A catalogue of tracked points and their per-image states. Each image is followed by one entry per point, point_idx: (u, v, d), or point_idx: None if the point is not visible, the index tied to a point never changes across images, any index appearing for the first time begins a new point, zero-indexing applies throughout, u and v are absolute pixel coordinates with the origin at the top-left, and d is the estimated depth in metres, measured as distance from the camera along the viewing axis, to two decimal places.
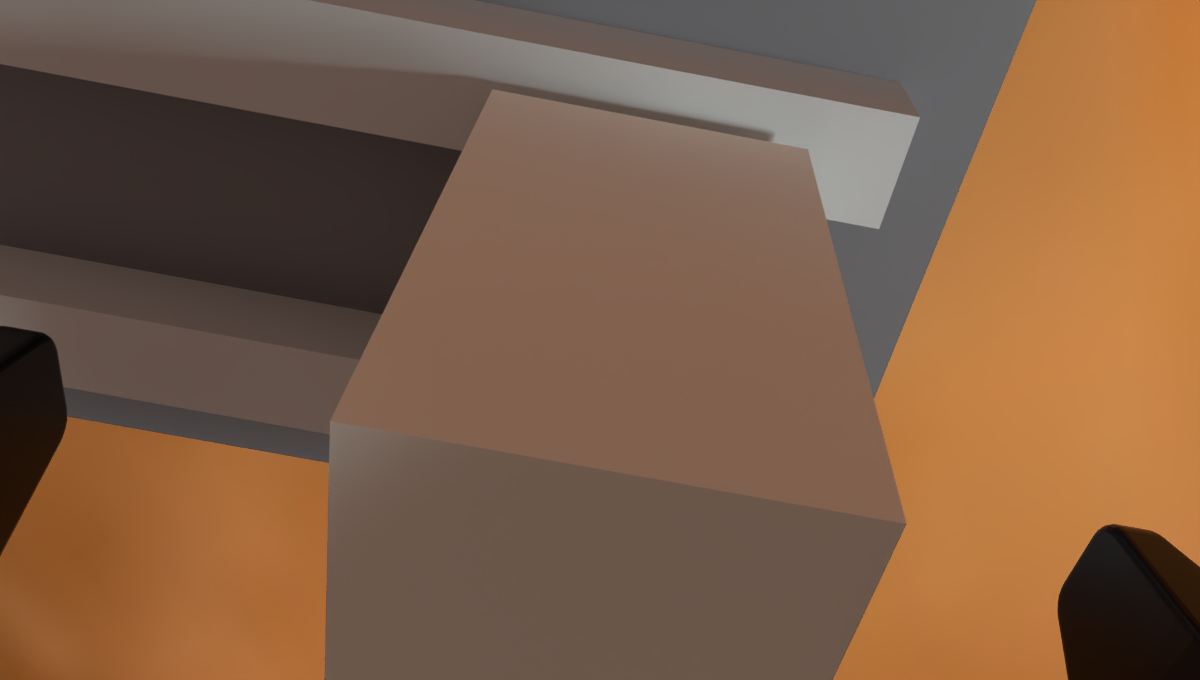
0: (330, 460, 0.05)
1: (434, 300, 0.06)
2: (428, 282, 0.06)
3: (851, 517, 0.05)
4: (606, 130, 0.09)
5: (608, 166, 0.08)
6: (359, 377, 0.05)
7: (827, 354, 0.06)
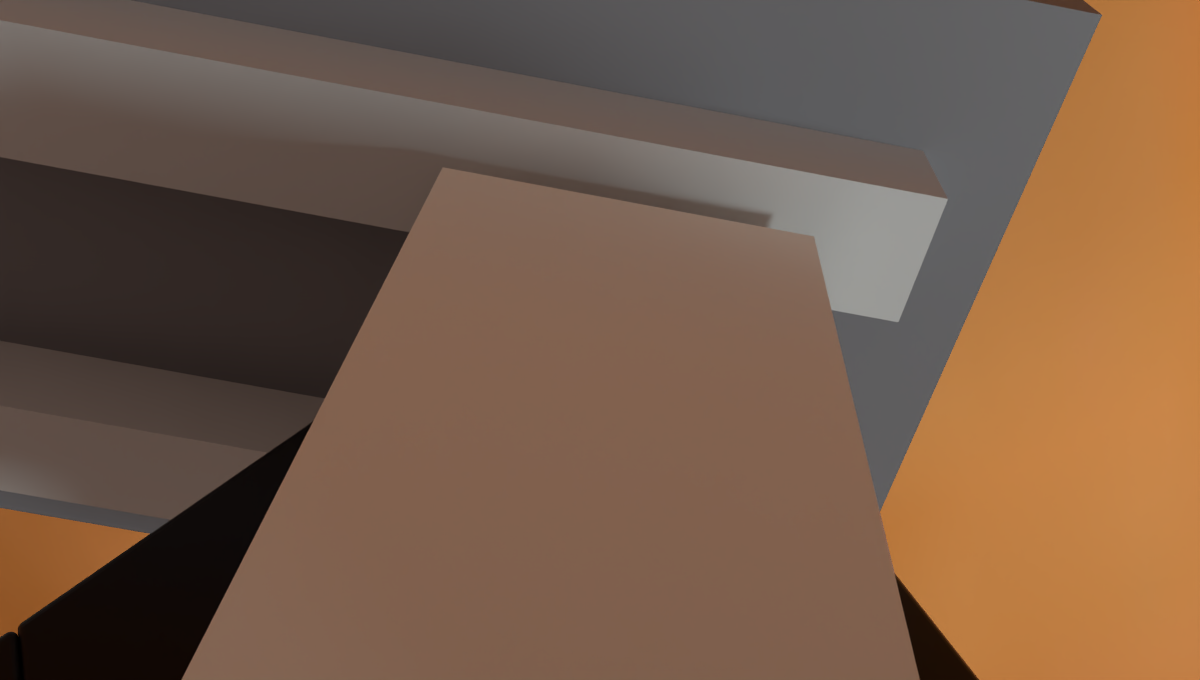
0: None
1: (336, 490, 0.05)
2: (332, 461, 0.05)
3: None
4: (575, 219, 0.07)
5: (576, 270, 0.07)
6: (217, 627, 0.04)
7: (842, 546, 0.05)
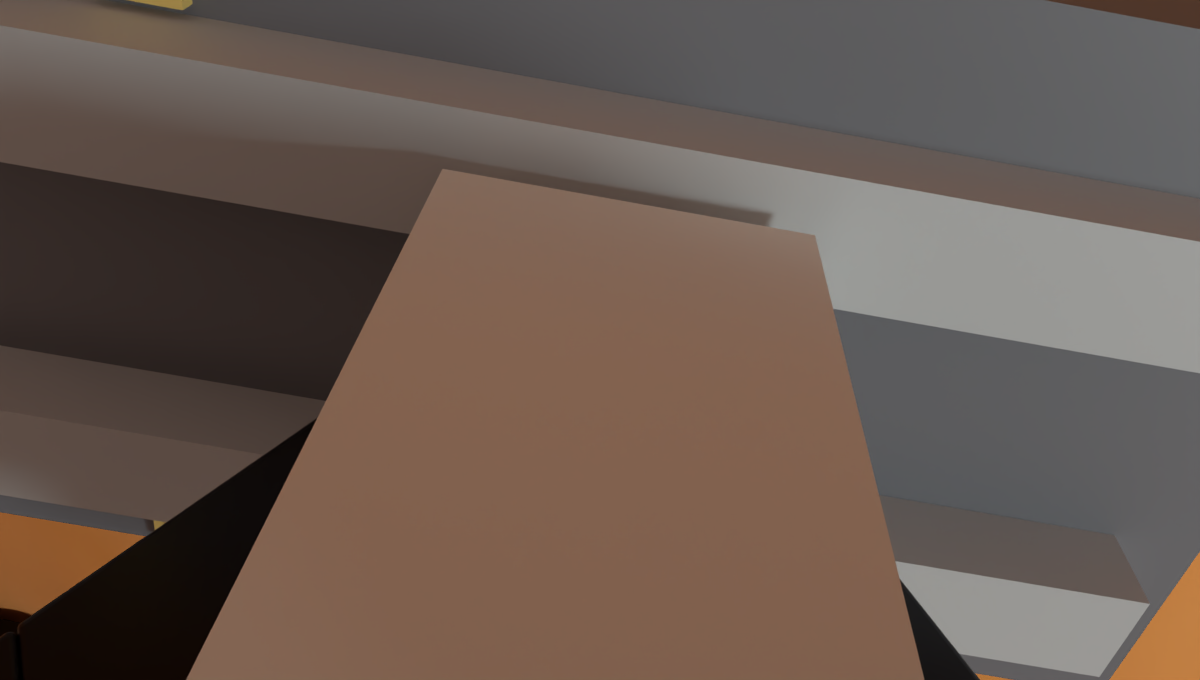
0: None
1: (337, 493, 0.05)
2: (333, 464, 0.05)
3: None
4: (576, 219, 0.07)
5: (576, 271, 0.07)
6: (219, 632, 0.04)
7: (845, 545, 0.05)
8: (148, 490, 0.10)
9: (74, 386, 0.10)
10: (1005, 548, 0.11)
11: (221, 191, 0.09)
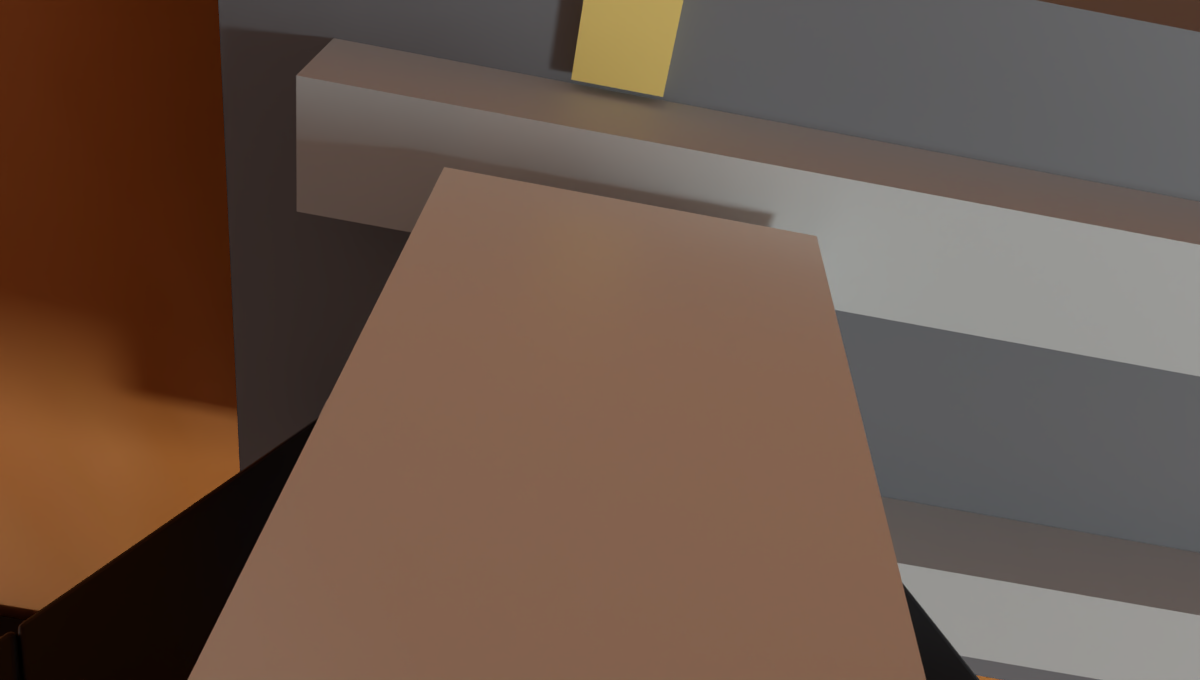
0: None
1: (339, 493, 0.05)
2: (334, 463, 0.05)
3: None
4: (577, 219, 0.07)
5: (578, 270, 0.07)
6: (219, 634, 0.04)
7: (849, 549, 0.05)
8: None
9: None
10: None
11: None
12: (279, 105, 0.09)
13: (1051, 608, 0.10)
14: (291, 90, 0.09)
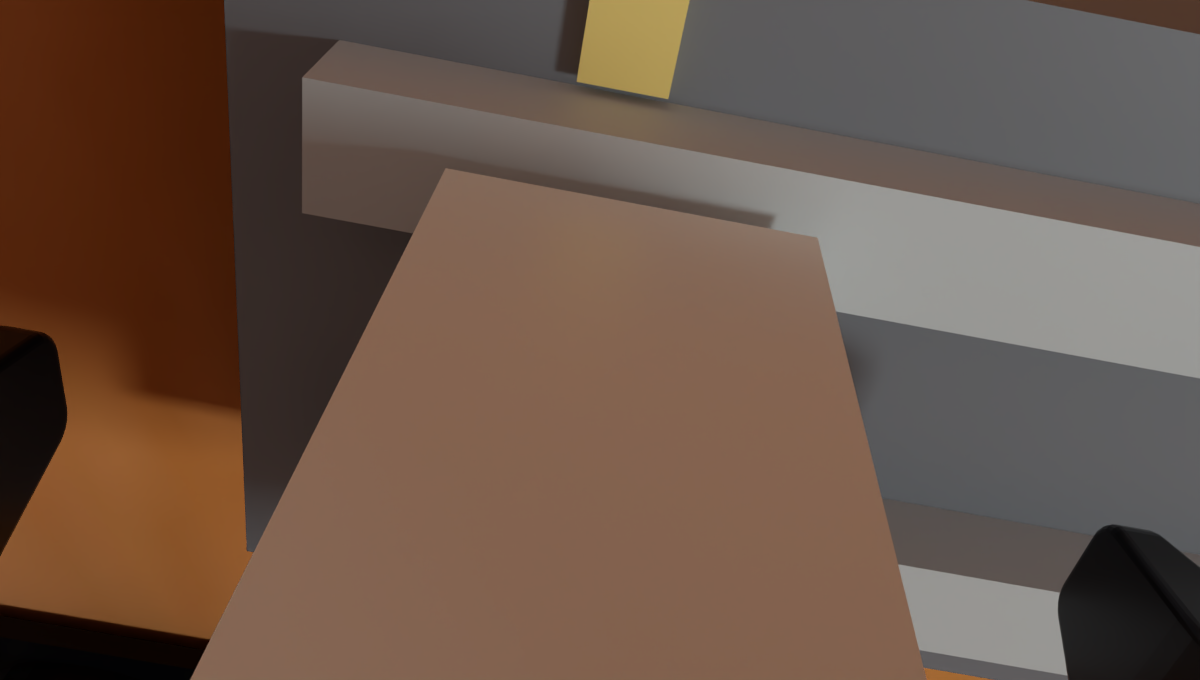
0: None
1: (341, 494, 0.05)
2: (337, 464, 0.05)
3: None
4: (579, 220, 0.07)
5: (579, 271, 0.07)
6: (223, 633, 0.04)
7: (849, 549, 0.05)
8: None
9: None
10: None
11: None
12: (284, 107, 0.09)
13: (1055, 611, 0.10)
14: (296, 92, 0.09)
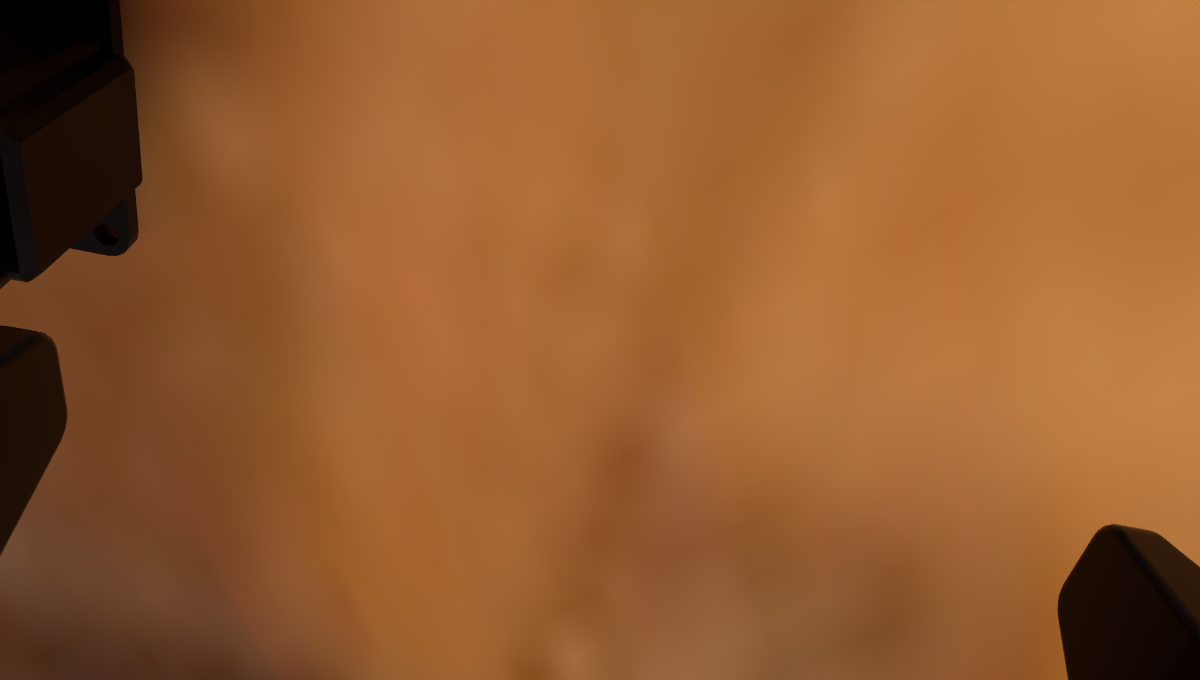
0: None
1: None
2: None
3: None
4: None
5: None
6: None
7: None
8: None
9: None
10: None
11: None
12: None
13: None
14: None
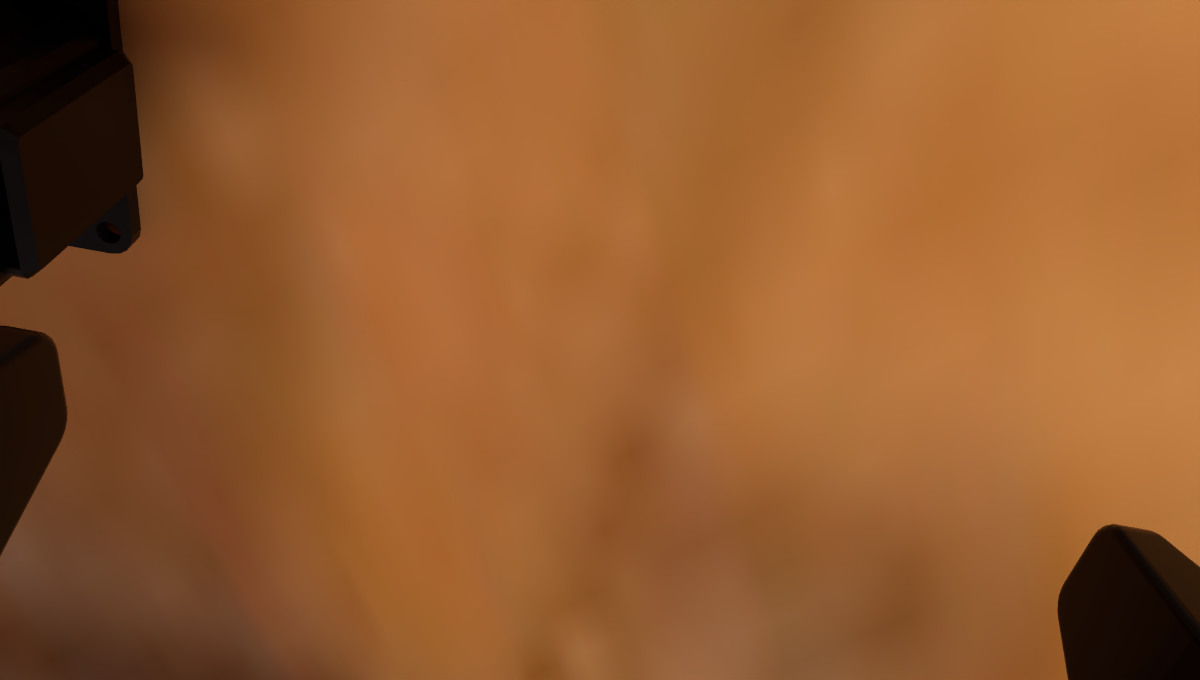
0: None
1: None
2: None
3: None
4: None
5: None
6: None
7: None
8: None
9: None
10: None
11: None
12: None
13: None
14: None
